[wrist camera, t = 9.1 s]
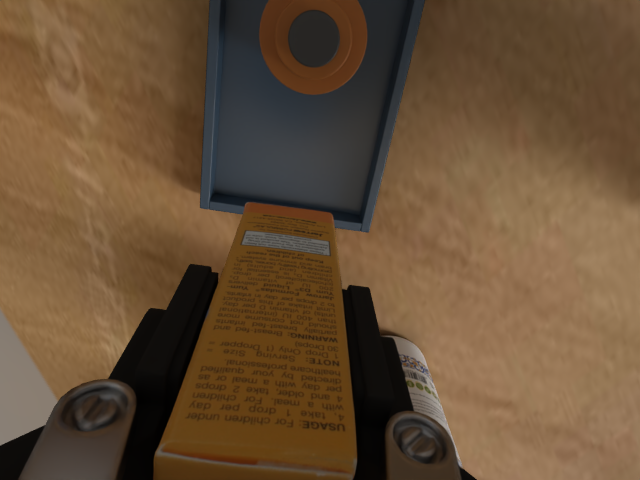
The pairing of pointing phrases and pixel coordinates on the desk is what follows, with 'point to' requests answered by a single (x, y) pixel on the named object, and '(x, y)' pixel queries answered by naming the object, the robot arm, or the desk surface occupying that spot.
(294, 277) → the supplement box
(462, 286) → the desk surface
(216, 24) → the tray
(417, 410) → the bath foam
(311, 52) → the amber bottle
